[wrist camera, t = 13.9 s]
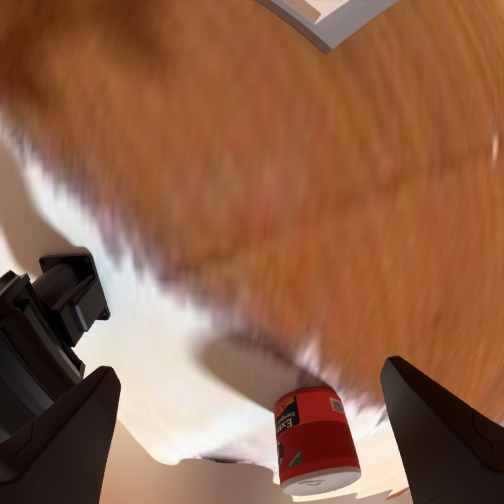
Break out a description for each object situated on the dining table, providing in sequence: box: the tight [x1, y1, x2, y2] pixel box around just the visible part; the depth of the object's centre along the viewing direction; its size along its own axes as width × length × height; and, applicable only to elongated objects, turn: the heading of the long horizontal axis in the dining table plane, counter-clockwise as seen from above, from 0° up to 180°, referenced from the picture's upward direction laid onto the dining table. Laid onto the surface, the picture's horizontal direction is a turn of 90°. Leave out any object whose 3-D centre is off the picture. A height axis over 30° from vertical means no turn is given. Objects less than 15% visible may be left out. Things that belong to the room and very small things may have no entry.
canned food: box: [274, 387, 361, 496], centre depth 23 cm, size 8×8×11 cm
